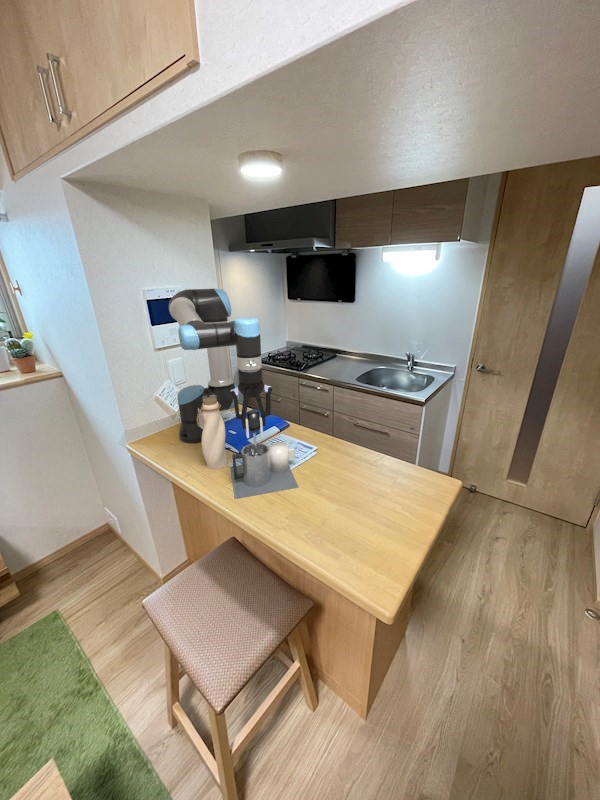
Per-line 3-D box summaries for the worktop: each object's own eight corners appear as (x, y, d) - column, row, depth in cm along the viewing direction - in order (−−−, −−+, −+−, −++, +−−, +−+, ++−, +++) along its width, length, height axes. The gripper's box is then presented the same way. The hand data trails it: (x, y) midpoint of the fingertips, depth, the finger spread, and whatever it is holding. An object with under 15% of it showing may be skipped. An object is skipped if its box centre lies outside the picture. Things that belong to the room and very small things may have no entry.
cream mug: (267, 463, 123) (266, 443, 120) (292, 460, 126) (291, 439, 123) (271, 474, 116) (270, 453, 113) (297, 470, 119) (296, 449, 116)
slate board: (230, 468, 122) (229, 466, 122) (285, 460, 128) (285, 458, 127) (234, 501, 104) (234, 499, 104) (298, 489, 110) (298, 487, 109)
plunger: (244, 459, 114) (240, 409, 107) (264, 456, 116) (262, 407, 109) (247, 470, 107) (243, 418, 100) (268, 466, 109) (266, 415, 102)
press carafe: (233, 475, 116) (230, 446, 112) (268, 469, 120) (266, 441, 115) (236, 491, 108) (233, 460, 103) (273, 484, 111) (271, 454, 107)
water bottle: (213, 477, 117) (204, 407, 107) (198, 469, 122) (188, 401, 112) (234, 464, 125) (227, 398, 115) (219, 457, 130) (212, 393, 120)
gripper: (222, 374, 94) (229, 444, 102) (279, 369, 98) (281, 436, 106) (221, 368, 100) (228, 433, 109) (274, 364, 105) (276, 427, 113)
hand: (254, 435), depth 108 cm, fingers closed on plunger, 4 cm apart
